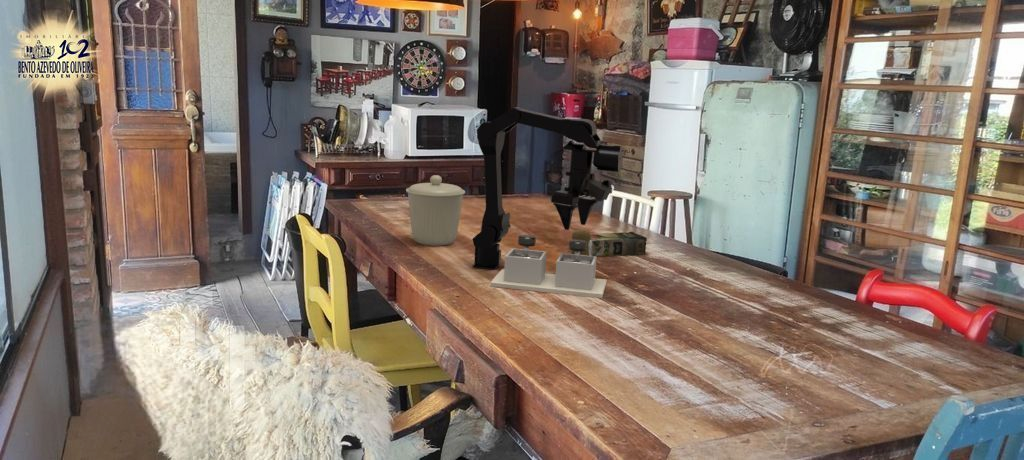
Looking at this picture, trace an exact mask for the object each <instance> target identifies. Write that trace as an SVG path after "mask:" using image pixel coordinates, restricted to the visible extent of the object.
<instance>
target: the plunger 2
mask: <svg viewBox="0 0 1024 460" xmlns="http://www.w3.org/2000/svg"><path fill="white" fill-rule="evenodd" d="M568 242H569V243H568V250H569V251H572V250H573V251H575V257H567V258H564V259H563V261H565V262H575V263H585V264H590V260H588V259H585V258H580V257H579V255H580V251H586V247H587V242H586V241H584V240H576V239H575V240H572V239H570V240H569V241H568Z"/></svg>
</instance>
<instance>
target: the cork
mask: <svg viewBox="0 0 1024 460" xmlns="http://www.w3.org/2000/svg"><path fill="white" fill-rule="evenodd" d="M590 234H591V232H590V231H589V230H584V229H577V230H574V231H573V232H572V235H571V240H575V239H576V240H584V241H586V242H587V247H586V251H580V255H587V256H589V246H588V243H589V241H590V239H591V235H590ZM570 254H575V251H573V250H571V253H570Z"/></svg>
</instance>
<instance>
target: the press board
mask: <svg viewBox="0 0 1024 460" xmlns="http://www.w3.org/2000/svg"><path fill="white" fill-rule="evenodd" d="M519 252H524V248H523V249H521V248H511V249H510V250H509V251H508V252H507V253H506V255H504V266H503V267H504V268H502V269H501V270H500V271H499V272H498V273H497V274H496V275H495V277H493V279H492V280H491V281H490V288H491V287H493V288H501V289H502V288H504V289H512V290H522V291H530V292H540V293H548V294H549V293H550V294H559V295H570V296H576V297H577V296H578V297H588V298H596V299H603V297H604V293H605V289H606V286H607V280H608V279H605V278H596V271H597V258H598V257H597V256H587V255H579V257H580V258H585V259H588V260H590V264H585V263H575V262H565V261H563V259H564V258H567V257H575V254H571V253H566V252H565V253H564V252H563V253H562V252H560V255H558V258H557V259H556V261H555V274H554V273H546V269H547V253H548V252H547V251H543V250H535V249H534V250H533V249H529V253H535V254H538V255H539V259H534V258H523V257H513V254H514V253H519Z"/></svg>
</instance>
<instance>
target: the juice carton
mask: <svg viewBox="0 0 1024 460" xmlns="http://www.w3.org/2000/svg"><path fill="white" fill-rule="evenodd" d="M590 235H591V239H590V241H589V243H588V246H589V256H597V258H598V257H599V258H602V257H603V258H604V257H605V258H606V257H625V256H630V257H631V256H644V255H646V251H647V249H646V248H647V240H648V238H647V237H646V236H643V235H642V234H638V233H636V232H634V231H628V232H600V233H590Z"/></svg>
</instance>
